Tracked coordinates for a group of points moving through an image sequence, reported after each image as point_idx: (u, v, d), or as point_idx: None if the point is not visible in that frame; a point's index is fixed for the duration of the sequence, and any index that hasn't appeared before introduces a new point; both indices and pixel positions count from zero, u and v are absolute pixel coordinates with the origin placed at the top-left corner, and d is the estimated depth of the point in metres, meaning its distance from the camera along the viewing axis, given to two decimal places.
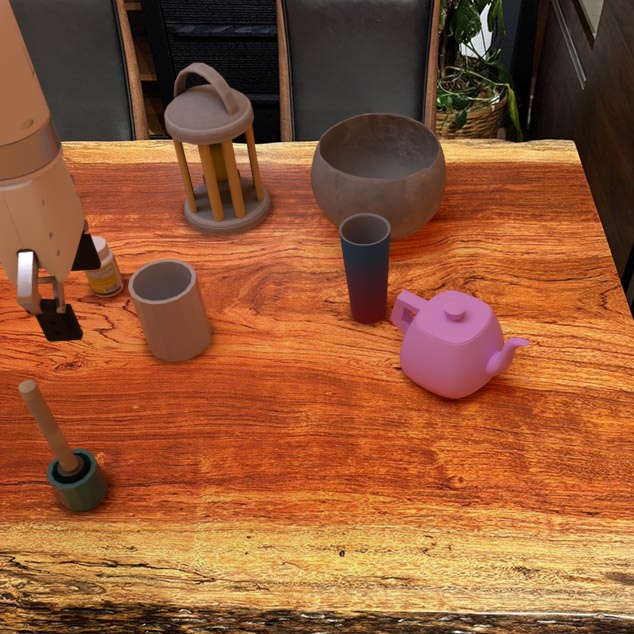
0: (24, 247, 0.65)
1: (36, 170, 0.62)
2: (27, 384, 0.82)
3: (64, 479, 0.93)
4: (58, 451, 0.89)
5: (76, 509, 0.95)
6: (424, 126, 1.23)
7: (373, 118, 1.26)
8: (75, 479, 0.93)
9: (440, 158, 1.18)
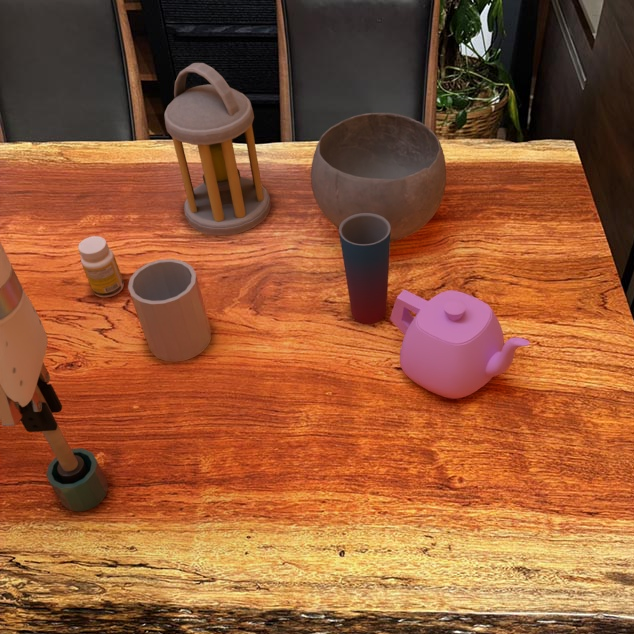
0: None
1: (0, 319, 0.72)
2: None
3: (64, 479, 0.93)
4: (58, 451, 0.89)
5: (76, 509, 0.95)
6: (424, 126, 1.23)
7: (373, 118, 1.26)
8: (75, 479, 0.93)
9: (440, 158, 1.18)
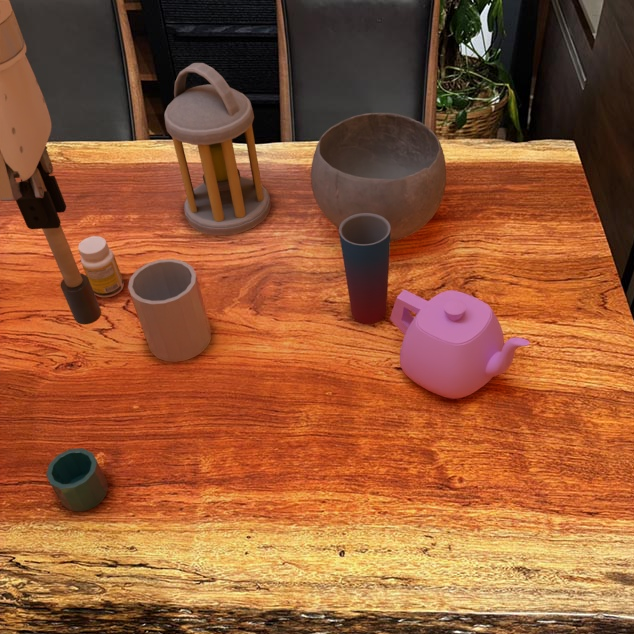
0: None
1: None
2: None
3: (67, 296, 0.87)
4: (62, 260, 0.83)
5: (76, 509, 0.95)
6: (424, 126, 1.23)
7: (373, 118, 1.26)
8: (79, 296, 0.87)
9: (440, 158, 1.18)
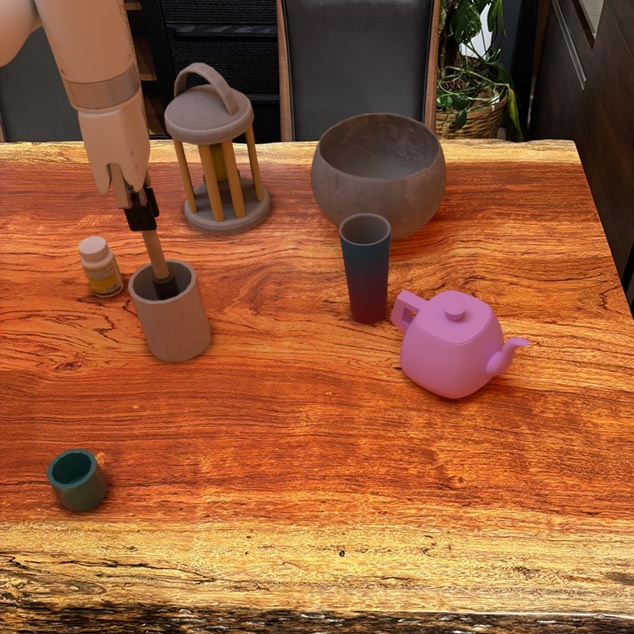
0: (112, 161, 0.86)
1: (123, 101, 0.84)
2: None
3: (157, 287, 1.04)
4: (155, 256, 1.01)
5: (76, 509, 0.95)
6: (424, 126, 1.23)
7: (373, 118, 1.26)
8: (167, 286, 1.04)
9: (440, 158, 1.18)
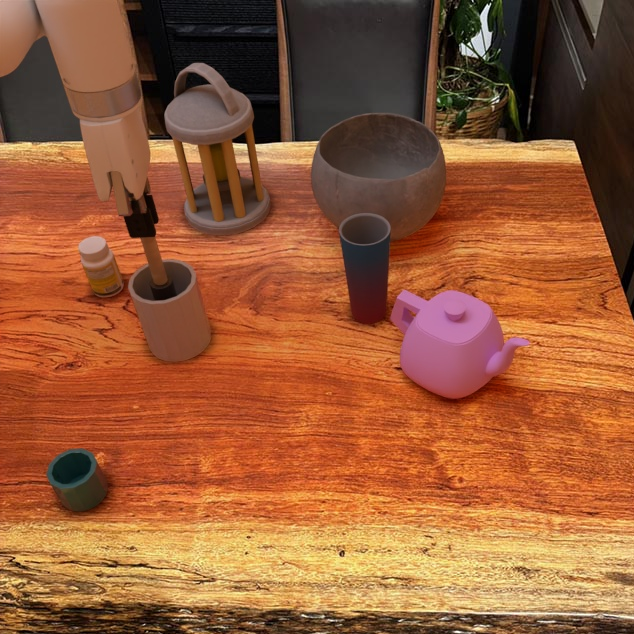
0: (113, 170, 0.87)
1: (125, 111, 0.84)
2: None
3: (155, 292, 1.05)
4: (154, 262, 1.02)
5: (76, 509, 0.95)
6: (424, 126, 1.23)
7: (373, 118, 1.26)
8: (165, 292, 1.05)
9: (440, 158, 1.18)
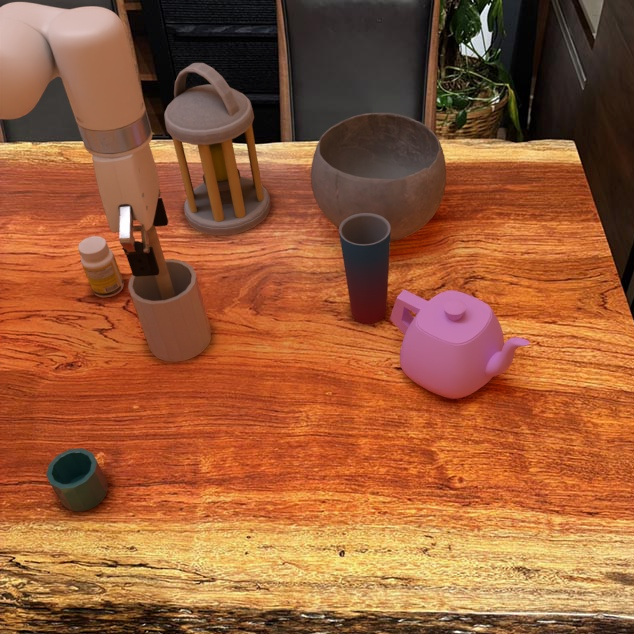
0: (124, 203, 0.90)
1: (136, 147, 0.88)
2: None
3: None
4: (166, 294, 1.06)
5: (76, 509, 0.95)
6: (424, 126, 1.23)
7: (373, 118, 1.26)
8: None
9: (440, 158, 1.18)
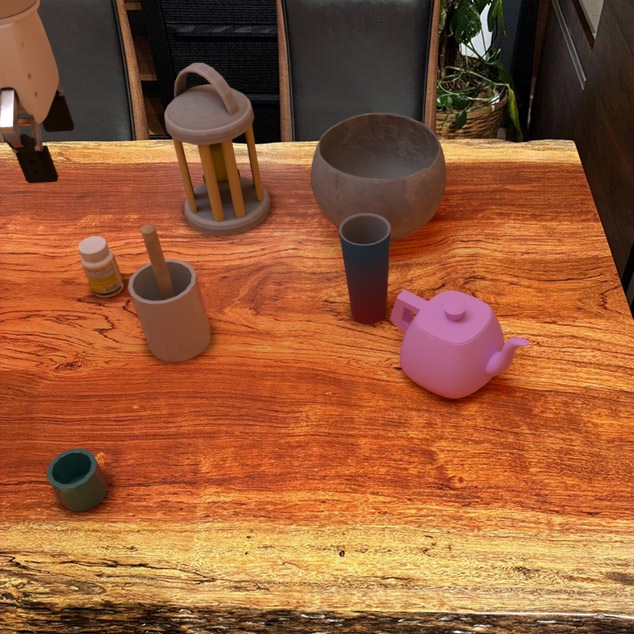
0: (6, 85, 0.75)
1: (16, 14, 0.73)
2: (147, 227, 0.99)
3: None
4: (166, 294, 1.06)
5: (76, 509, 0.95)
6: (424, 126, 1.23)
7: (373, 118, 1.26)
8: None
9: (440, 158, 1.18)
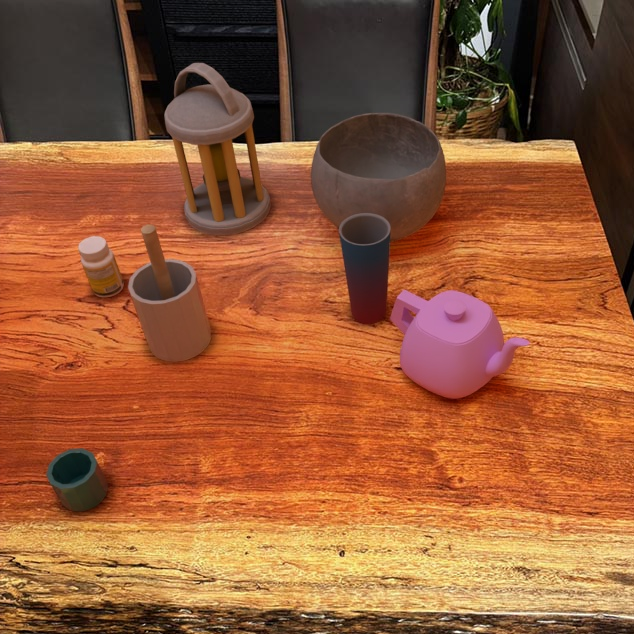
0: None
1: None
2: (147, 227, 0.99)
3: None
4: (166, 294, 1.06)
5: (76, 509, 0.95)
6: (424, 126, 1.23)
7: (373, 118, 1.26)
8: None
9: (440, 158, 1.18)
